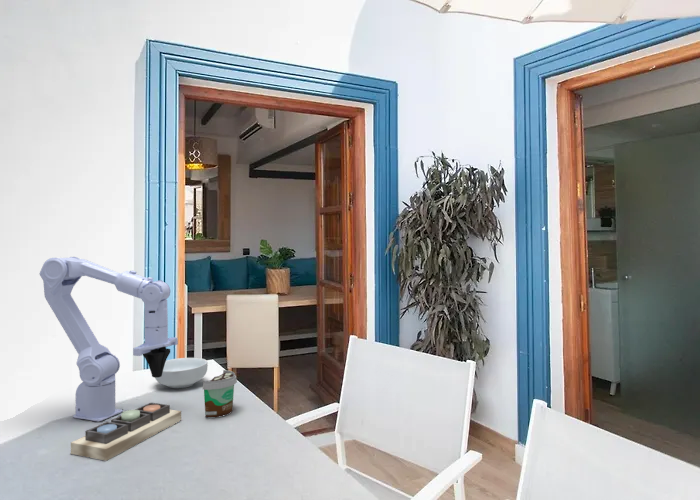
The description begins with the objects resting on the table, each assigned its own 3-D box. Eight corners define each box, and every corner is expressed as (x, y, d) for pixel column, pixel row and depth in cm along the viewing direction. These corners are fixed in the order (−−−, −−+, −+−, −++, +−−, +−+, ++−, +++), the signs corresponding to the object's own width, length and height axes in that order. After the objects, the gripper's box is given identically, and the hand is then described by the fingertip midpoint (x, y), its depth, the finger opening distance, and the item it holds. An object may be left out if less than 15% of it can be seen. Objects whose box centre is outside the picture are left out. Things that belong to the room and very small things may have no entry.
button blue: (92, 437, 104) (92, 429, 104) (107, 431, 108) (107, 423, 108) (106, 440, 103) (106, 432, 103) (120, 433, 107) (120, 425, 107)
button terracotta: (139, 416, 117) (139, 408, 117) (151, 410, 121) (151, 403, 121) (152, 418, 116) (152, 410, 116) (163, 412, 120) (163, 405, 120)
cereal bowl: (170, 376, 163) (170, 356, 163) (215, 378, 160) (215, 358, 160) (142, 391, 146) (142, 369, 146) (192, 394, 144) (192, 371, 144)
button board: (70, 453, 102) (70, 433, 102) (150, 416, 125) (150, 399, 125) (106, 460, 99) (106, 439, 99) (181, 420, 122) (181, 403, 122)
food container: (224, 421, 121) (224, 383, 121) (202, 419, 123) (202, 381, 123) (244, 405, 134) (244, 370, 133) (224, 404, 135) (224, 369, 135)
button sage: (117, 422, 111) (117, 414, 111) (130, 416, 115) (130, 408, 115) (131, 424, 110) (131, 416, 110) (143, 418, 113) (143, 410, 113)
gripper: (148, 331, 117) (149, 385, 117) (186, 322, 131) (186, 370, 131) (126, 330, 120) (127, 383, 120) (165, 321, 133) (166, 368, 133)
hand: (156, 376), depth 126 cm, fingers closed
